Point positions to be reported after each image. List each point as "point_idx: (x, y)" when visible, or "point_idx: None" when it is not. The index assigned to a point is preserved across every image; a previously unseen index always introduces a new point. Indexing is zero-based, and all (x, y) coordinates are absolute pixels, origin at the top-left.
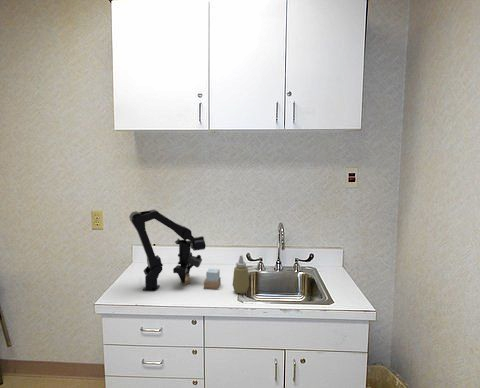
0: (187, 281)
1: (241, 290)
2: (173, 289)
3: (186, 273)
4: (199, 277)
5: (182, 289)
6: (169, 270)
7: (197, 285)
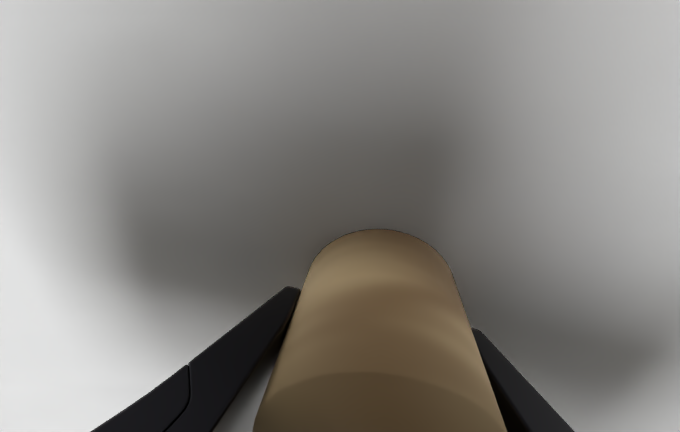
0: (456, 295)
1: None
2: (615, 416)
3: (276, 428)
4: (58, 58)
5: (675, 321)
6: (12, 428)
7: (548, 52)
